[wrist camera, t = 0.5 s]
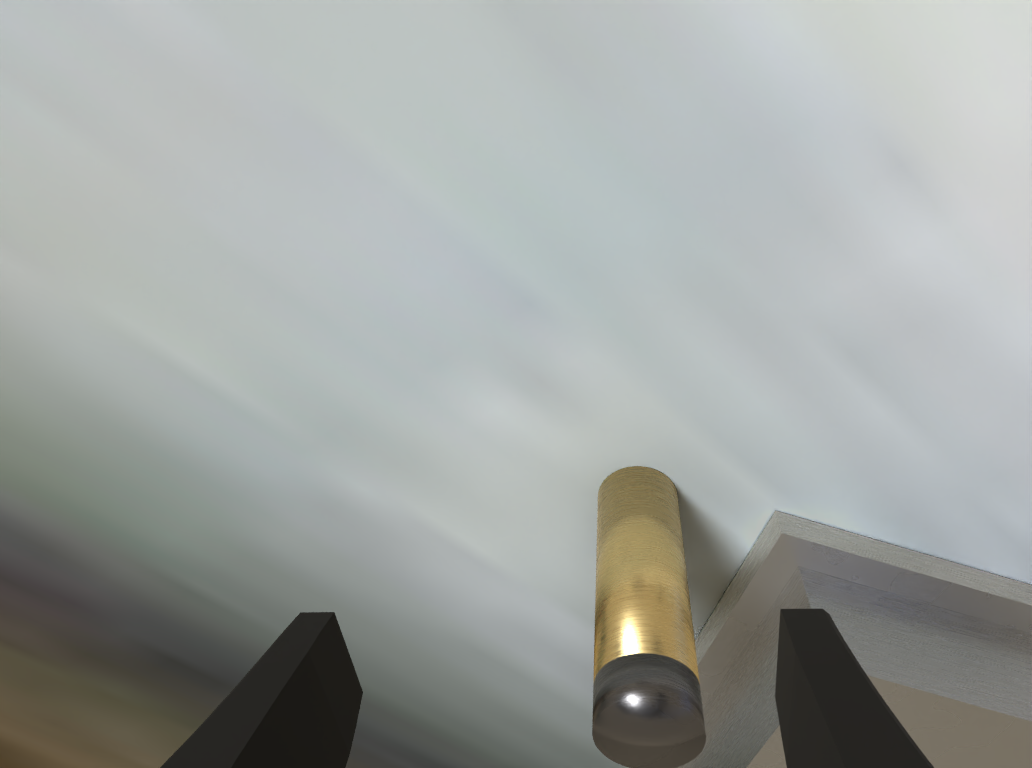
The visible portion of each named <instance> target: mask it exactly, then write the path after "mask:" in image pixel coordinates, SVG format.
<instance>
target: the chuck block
mask: <svg viewBox="0 0 1032 768" xmlns="http://www.w3.org/2000/svg"><path fill="white" fill-rule="evenodd" d="M780 609H824V610H825V611H826V612H827V613H829V614H830V616H831V618H832V620H833V621H834V623H835V625H836V627H837V628H838V630H839V632H840V633H841V635H842V637H843V638H844V640H845V642H846V643H847V645H848V647H849V648H850V650H851V651H852V653H853V654H854V656H855V658H856V659H857V661H858V662H859V664H860V665H861V667H862V668H863V670H864V671H865V673H866V674H867V676H868V677H869V679H870V680H871V682H872V683H873V685H874V686H875V688H876V689H877V691H878V692H879V694H880V695H881V696H882V698H883V699H884V701H885V702H886V704H887V705H888V706H889V708H890V709H891V711H892V712H893V713H894V715H895V716H896V717H897V719H898V720H899V721H900V723H901V724H902V726H903V727H904V728H905V730H906V731H907V732H908V734H909V735H910V736H911V738H912V739H913V740H914V742H915V743H916V745H917V746H918V747H919V749H920V750H921V751H922V753H923V754H924V755H925V756H926V758H927V759H928V760H929V762H930V763H931V764H932V765H933V767H934V768H1032V585H1029V584H1026V583H1023V582H1019V581H1016V580H1012V579H1009V578H1005V577H1002V576H998V575H995V574H992V573H988V572H985V571H981V570H978V569H974V568H971V567H968V566H964V565H961V564H957V563H954V562H950V561H947V560H944V559H940V558H937V557H933V556H930V555H926V554H923V553H920V552H916V551H913V550H909V549H906V548H902V547H899V546H896V545H892V544H889V543H885V542H882V541H878V540H875V539H872V538H868V537H865V536H861V535H858V534H854V533H851V532H847V531H844V530H841V529H837V528H834V527H830V526H827V525H823V524H820V523H817V522H813V521H810V520H806V519H803V518H799V517H796V516H793V515H789V514H786V513H782V512H779V511H775V512H774V514H773V515H772V517H771V518H770V520H769V522H768V523H767V525H766V527H765V528H764V530H763V531H762V533H761V535H760V536H759V538H758V540H757V541H756V543H755V544H754V546H753V548H752V549H751V551H750V553H749V554H748V556H747V557H746V559H745V561H744V562H743V564H742V566H741V567H740V569H739V570H738V572H737V574H736V575H735V577H734V579H733V580H732V582H731V583H730V585H729V587H728V588H727V590H726V592H725V593H724V595H723V596H722V598H721V600H720V601H719V603H718V605H717V606H716V608H715V609H714V611H713V613H712V614H711V616H710V618H709V619H708V621H707V622H706V624H705V626H704V627H703V629H702V631H701V632H700V634H699V635H698V637H697V639H696V640H695V648H696V657H697V665H698V673H699V682H700V690H701V699H702V707H703V716H704V724H705V733H706V743H705V746H704V748H703V750H702V752H701V753H700V754H699V755H698V756H697V757H696V758H695V759H693V760H692V761H690V762H688V763H686V764H684V765H682V766H679V767H676V768H787V766H786V760H785V754H784V748H783V743H782V737H781V731H780V725H779V718H778V712H777V706H776V700H775V688H776V672H777V656H778V639H779V623H780Z"/></svg>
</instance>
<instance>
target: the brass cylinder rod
mask: <svg viewBox="0 0 1032 768" xmlns="http://www.w3.org/2000/svg"><path fill="white" fill-rule="evenodd" d="M592 733H593V740H594V742H595V745H596V746H597V748H598V749H599V750H600V751H601V752H602V753H603V754H604V755H605V756H606V757H608V758H609V759H611V760H612V761H614V762H616V763H618V764H621V765H623V766H626V767H630V768H676V767H679V766H682V765H684V764H686V763H688V762H690V761H692V760H693V759H695V758H696V757H697V756H698V755H699V754H700V753H701V752H702V750H703V748H704V746H705V743H706V733H705V724H704V716H703V707H702V699H701V690H700V682H699V673H698V665H697V657H696V648H695V640H694V631H693V623H692V614H691V606H690V598H689V589H688V581H687V572H686V564H685V555H684V547H683V539H682V530H681V522H680V513H679V505H678V496H677V491H676V488H675V486H674V484H673V482H672V481H671V480H670V479H669V478H668V477H667V476H666V475H664V474H663V473H661V472H659V471H657V470H655V469H652V468H648V467H641V466H634V467H627V468H623V469H620V470H618V471H615V472H614V473H612V474H611V475H609V476H608V477H607V478H606V479H605V480H604V481H603V483H602V484H601V486H600V489H599V492H598V517H597V560H596V602H595V645H594V688H593V730H592Z"/></svg>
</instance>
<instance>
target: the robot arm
mask: <svg viewBox="0 0 1032 768" xmlns="http://www.w3.org/2000/svg"><path fill="white" fill-rule="evenodd" d="M362 694H363V691H362V688H361V686H360V683H359V680H358V677H357V674H356V672H355V669H354V666H353V663H352V660H351V658H350V655H349V652H348V649H347V646H346V644H345V641H344V638H343V635H342V633H341V630H340V627H339V624H338V621H337V619H336V616H335V613H334V612H311V613H300V614H299V615H298V616H297V617H296V618H295V619H294V620H293V621H292V623H291V624H290V625H289V626H288V627H287V628H286V629H285V630H284V632H283V633H282V634H281V635H280V636H279V637H278V638H277V640H276V641H275V642H274V643H273V644H272V645H271V647H270V648H269V649H268V650H267V651H266V652H265V654H264V655H263V656H262V657H261V658H260V659H259V660H258V662H257V663H256V664H255V665H254V666H253V667H252V669H251V670H250V671H249V672H248V673H247V674H246V675H245V677H244V678H243V679H242V680H241V681H240V682H239V683H238V685H237V686H236V687H235V688H234V689H233V690H232V691H231V692H230V694H229V695H228V696H227V697H226V698H225V699H224V700H223V701H222V702H221V704H220V705H219V706H218V707H217V708H216V709H215V710H214V711H213V712H212V714H211V715H210V716H209V717H208V718H207V719H206V720H205V721H204V722H203V724H202V725H201V726H200V727H199V728H198V729H197V730H196V731H195V732H194V733H193V734H192V735H191V736H190V737H189V738H188V739H187V741H186V742H185V743H184V744H183V745H182V746H181V747H180V748H179V749H178V750H177V751H176V752H175V753H174V754H173V755H172V756H171V757H170V758H169V759H168V760H167V761H166V762H165V763H164V764H163V765H162V766H161V767H160V768H345V767H346V764H347V761H348V757H349V754H350V750H351V746H352V741H353V737H354V733H355V728H356V724H357V719H358V714H359V709H360V704H361V699H362ZM775 700H776V706H777V712H778V718H779V725H780V731H781V737H782V743H783V748H784V754H785V760H786V766H787V768H934V767H933V765H932V764H931V763H930V762H929V760H928V759H927V758H926V756H925V755H924V754H923V753H922V751H921V750H920V749H919V747H918V746H917V745H916V743H915V742H914V740H913V739H912V738H911V736H910V735H909V734H908V732H907V731H906V730H905V728H904V727H903V726H902V724H901V723H900V721H899V720H898V719H897V717H896V716H895V715H894V713H893V712H892V711H891V709H890V708H889V706H888V705H887V704H886V702H885V701H884V699H883V698H882V696H881V695H880V694H879V692H878V691H877V689H876V688H875V686H874V685H873V683H872V682H871V680H870V679H869V677H868V676H867V674H866V673H865V671H864V670H863V668H862V667H861V665H860V664H859V662H858V661H857V659H856V658H855V656H854V654H853V653H852V651H851V650H850V648H849V647H848V645H847V643H846V642H845V640H844V638H843V637H842V635H841V633H840V632H839V630H838V628H837V627H836V625H835V623H834V621H833V620H832V618H831V616H830V614H829V613H827V612H826V611H825V610H824V609H780V623H779V639H778V656H777V672H776V688H775Z"/></svg>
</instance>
